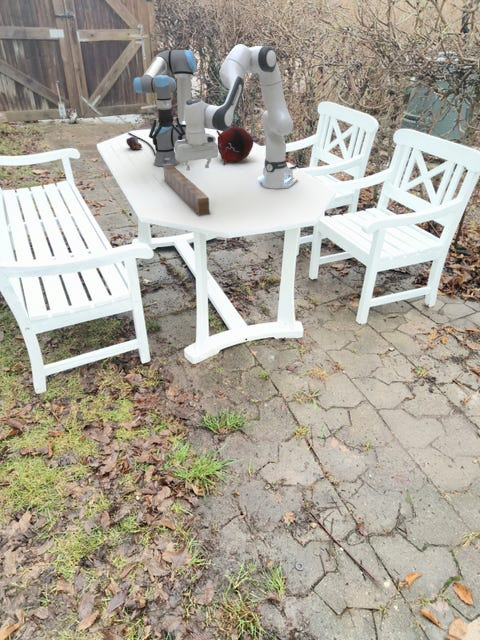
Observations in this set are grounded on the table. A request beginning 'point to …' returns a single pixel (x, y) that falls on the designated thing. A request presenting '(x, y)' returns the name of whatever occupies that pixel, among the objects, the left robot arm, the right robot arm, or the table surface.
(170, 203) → the table surface
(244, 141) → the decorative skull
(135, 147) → the rock
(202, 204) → the bar
